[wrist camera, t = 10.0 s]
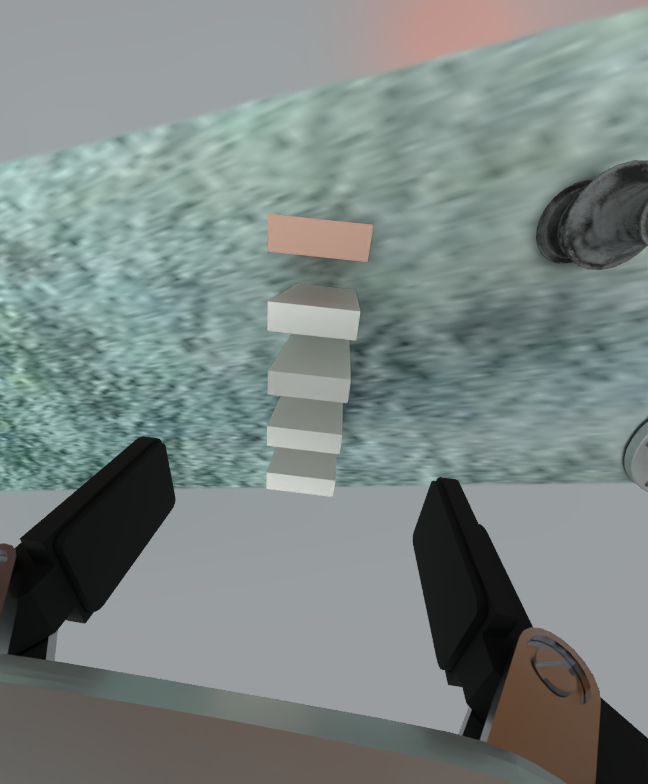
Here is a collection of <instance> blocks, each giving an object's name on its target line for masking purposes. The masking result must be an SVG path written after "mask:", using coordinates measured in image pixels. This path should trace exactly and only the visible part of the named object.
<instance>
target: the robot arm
mask: <svg viewBox="0 0 648 784" xmlns="http://www.w3.org/2000/svg"><path fill="white" fill-rule="evenodd" d="M624 467H625V470H626V472H627V475H628V476H629V477H630V479H631V480H632V481H633V482H634V483H636V484H637V485H638V486H639V487H641V488H642V489H644V490H645V491H647V492H648V421H647V422H646V423H645V424H644V425H643V426H642V427H641V428H640V429H639V430H638V432H637V433H636V434H635V436H634V437H633V438H632V440H631V442H630V444H629V445H628V447H627V450H626V454H625V458H624ZM174 504H175V493H174V488H173V483H172V478H171V472H170V467H169V462H168V457H167V451H166V446H165V444H163V443H162V442H161V440H160V439H158V438H151V437H144V436H142V437H139V438H138V439H137V440H135V441H134V442H133V443H132V444H131V445H130V446H128V447H127V448H126V449H125V450H124V451H122V452H121V453H120V454H119V455H118V456H117V457H115V458H114V459H113V460H112V461H111V462H110V463H108V464H107V465H106V466H105V467H104V468H102V469H101V470H100V471H99V472H98V473H97V474H95V475H94V476H93V477H92V478H91V479H89V480H88V481H87V482H86V483H85V484H84V485H82V486H81V487H80V488H79V489H78V490H77V491H75V492H74V493H73V494H72V495H71V496H69V497H68V498H67V499H66V500H65V501H64V502H62V503H61V504H60V505H59V506H58V507H56V508H55V509H54V510H53V511H52V512H51V513H49V514H48V515H47V516H46V517H45V518H44V519H42V520H41V521H40V522H39V523H38V524H37V525H35V526H34V527H33V528H32V529H31V530H29V531H28V532H27V533H26V534H25V535H24V536H22V537H21V538H20V540H21V543H20V544H19V545H18V546H17V547H16V548H14V547H13V546H12V545H8V544H5V543H4V544H0V784H648V738H647V737H646V736H644V735H643V734H642V733H641V732H640V731H639V730H637V729H636V728H635V727H634V726H633V725H632V724H631V723H629V722H628V721H627V720H626V719H625V718H624V717H622V716H621V715H620V714H619V713H618V712H617V711H616V710H614V709H613V708H612V707H611V706H610V705H609V704H608V703H606V702H605V701H604V700H603V699H602V698H601V697H600V691H599V688H598V686H597V683H596V681H595V678H594V676H593V674H592V673H591V671H590V670H589V668H588V667H587V665H586V663H585V662H584V661H583V659H582V658H581V657H580V656H579V655H578V654H577V653H576V652H575V650H574V649H572V648H571V647H570V646H569V645H568V644H567V643H566V642H565V641H563V640H562V639H561V638H559V637H558V636H556V635H554V634H553V633H551V632H549V631H546V630H544V629H541V628H533V626H532V624H531V622H530V620H529V618H528V616H527V614H526V612H525V610H524V608H523V606H522V604H521V601H520V600H519V597H518V596H517V593H516V591H515V589H514V587H513V585H512V583H511V581H510V579H509V577H508V575H507V573H506V570H505V568H504V566H503V564H502V562H501V560H500V558H499V556H498V554H497V552H496V550H495V548H494V546H493V543H492V541H491V539H490V537H489V535H488V533H487V531H486V530H485V528H484V527H483V526H482V525H480V524H478V522H477V520H476V518H475V516H474V514H473V511H472V509H471V507H470V505H469V503H468V500H467V498H466V496H465V494H464V492H463V490H462V488H461V485H460V483H459V482H458V480H456V479H449V478H442V477H439V478H438V479H437V481H432V482H431V484H430V487H429V490H428V493H427V496H426V499H425V502H424V504H423V507H422V510H421V513H420V516H419V519H418V522H417V524H416V527H415V530H414V533H413V546H414V551H415V556H416V560H417V565H418V570H419V575H420V580H421V585H422V589H423V595H424V600H425V604H426V609H427V614H428V619H429V623H430V628H431V633H432V638H433V643H434V648H435V653H436V658H437V662H438V665H439V667H440V669H442V670H445V673H446V677H447V682H448V685H453V686H459V687H463V691H464V695H465V699H466V703H467V704H468V706H469V708H468V711H467V713H466V716H465V718H464V721H463V724H462V726H461V729H460V732H459V734H454V733H450V732H445V731H440V730H436V729H431V728H426V727H421V726H416V725H411V724H406V723H401V722H396V721H392V720H387V719H382V718H375V717H370V716H365V715H359V714H354V713H349V712H343V711H338V710H332V709H326V708H321V707H315V706H310V705H304V704H299V703H293V702H288V701H282V700H277V699H271V698H266V697H260V696H254V695H249V694H242V693H237V692H231V691H226V690H220V689H214V688H208V687H203V686H197V685H192V684H185V683H180V682H174V681H168V680H163V679H157V678H151V677H145V676H139V675H134V674H127V673H122V672H115V671H110V670H104V669H98V668H92V667H85V666H80V665H74V664H69V663H63V662H55V661H54V660H55V652H56V642H57V632H58V629H59V627H60V626H61V625H62V624H63V622H64V621H65V620H68V621H74V622H79V623H86V622H87V620H88V619H89V618H90V616H91V615H92V614H93V612H96V611H97V610H99V609H100V608H101V607H102V606H103V605H104V604H105V602H106V601H107V600H108V598H109V597H110V595H111V594H112V593H113V591H114V590H115V588H116V587H117V586H118V584H119V583H120V581H121V580H122V579H123V577H124V576H125V574H126V573H127V572H128V570H129V569H130V567H131V566H132V565H133V563H134V562H135V560H136V559H137V558H138V556H139V555H140V553H141V552H142V551H143V549H144V548H145V546H146V545H147V544H148V542H149V541H150V539H151V538H152V536H153V535H154V534H155V532H156V531H157V530H158V528H159V527H160V525H161V524H162V523H163V521H164V520H165V518H166V517H167V516H168V514H169V513H170V511H171V510H172V508H173V507H174Z"/></svg>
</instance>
